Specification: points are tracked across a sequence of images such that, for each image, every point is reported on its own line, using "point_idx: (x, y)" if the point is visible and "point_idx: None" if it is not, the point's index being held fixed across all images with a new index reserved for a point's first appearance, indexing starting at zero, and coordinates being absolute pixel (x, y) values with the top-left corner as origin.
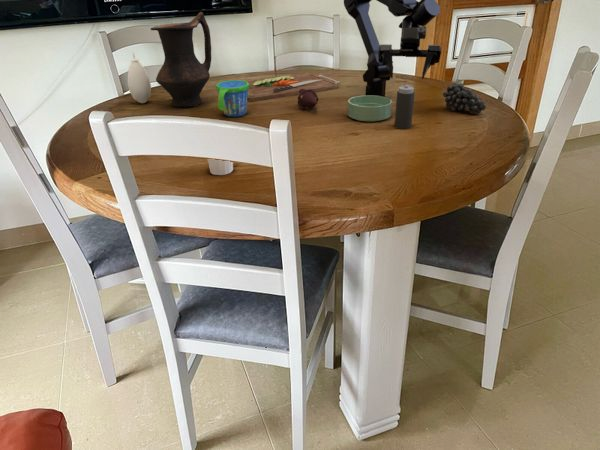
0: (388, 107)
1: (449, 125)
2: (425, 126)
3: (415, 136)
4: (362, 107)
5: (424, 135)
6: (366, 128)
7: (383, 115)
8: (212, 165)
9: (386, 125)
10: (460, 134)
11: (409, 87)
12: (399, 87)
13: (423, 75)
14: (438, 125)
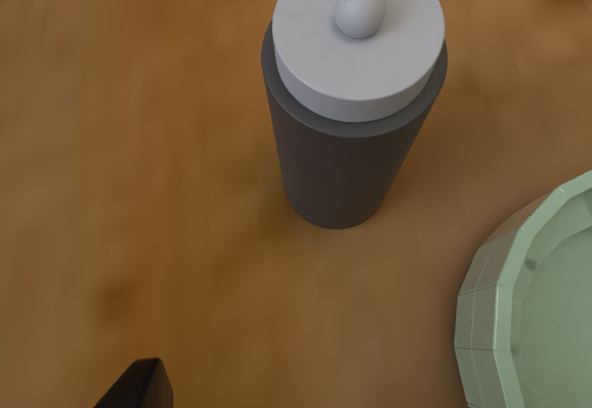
0: (491, 274)
1: (49, 271)
2: (198, 214)
3: (246, 36)
4: None
5: (200, 62)
6: (536, 92)
7: (495, 235)
8: None
9: (436, 174)
10: (8, 123)
11: (324, 46)
12: (441, 22)
13: (130, 371)
14: (118, 254)
